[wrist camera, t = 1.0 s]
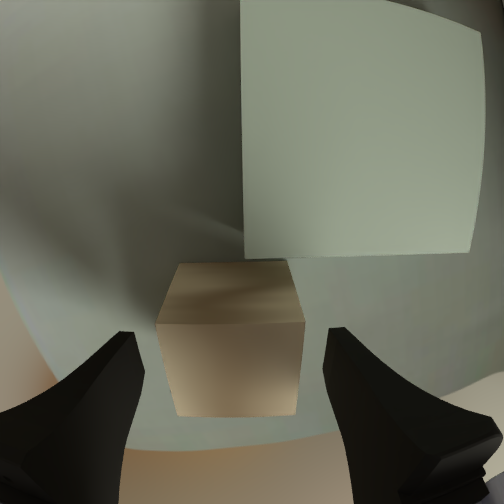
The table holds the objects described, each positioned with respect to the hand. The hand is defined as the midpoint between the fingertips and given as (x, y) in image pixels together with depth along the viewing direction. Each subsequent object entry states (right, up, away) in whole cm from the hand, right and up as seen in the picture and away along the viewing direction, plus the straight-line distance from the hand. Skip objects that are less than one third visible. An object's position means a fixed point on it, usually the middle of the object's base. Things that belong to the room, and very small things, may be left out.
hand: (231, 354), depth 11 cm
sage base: (+5, +9, 0) cm, 10 cm away
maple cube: (0, +1, +3) cm, 3 cm away
